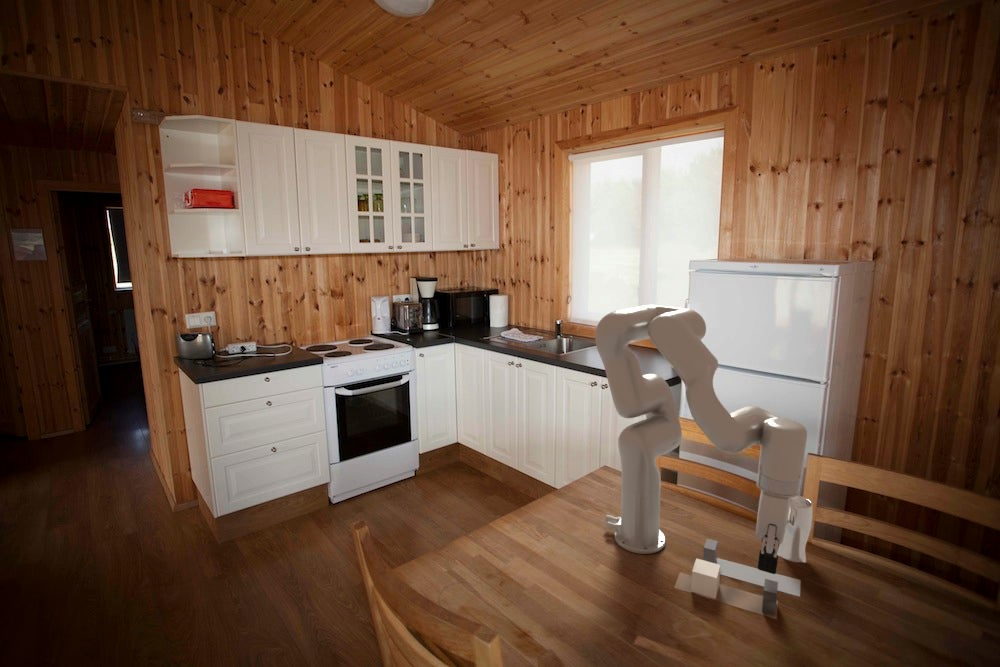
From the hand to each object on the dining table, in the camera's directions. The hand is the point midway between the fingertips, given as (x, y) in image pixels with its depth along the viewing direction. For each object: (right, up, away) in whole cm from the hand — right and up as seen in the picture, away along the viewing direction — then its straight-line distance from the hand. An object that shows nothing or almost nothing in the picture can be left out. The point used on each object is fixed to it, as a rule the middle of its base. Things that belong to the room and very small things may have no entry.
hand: (768, 557), depth 107 cm
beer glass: (+15, -8, +19) cm, 25 cm away
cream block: (-10, -10, +8) cm, 16 cm away
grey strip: (+2, -10, +12) cm, 16 cm away
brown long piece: (-6, -11, +6) cm, 14 cm away
